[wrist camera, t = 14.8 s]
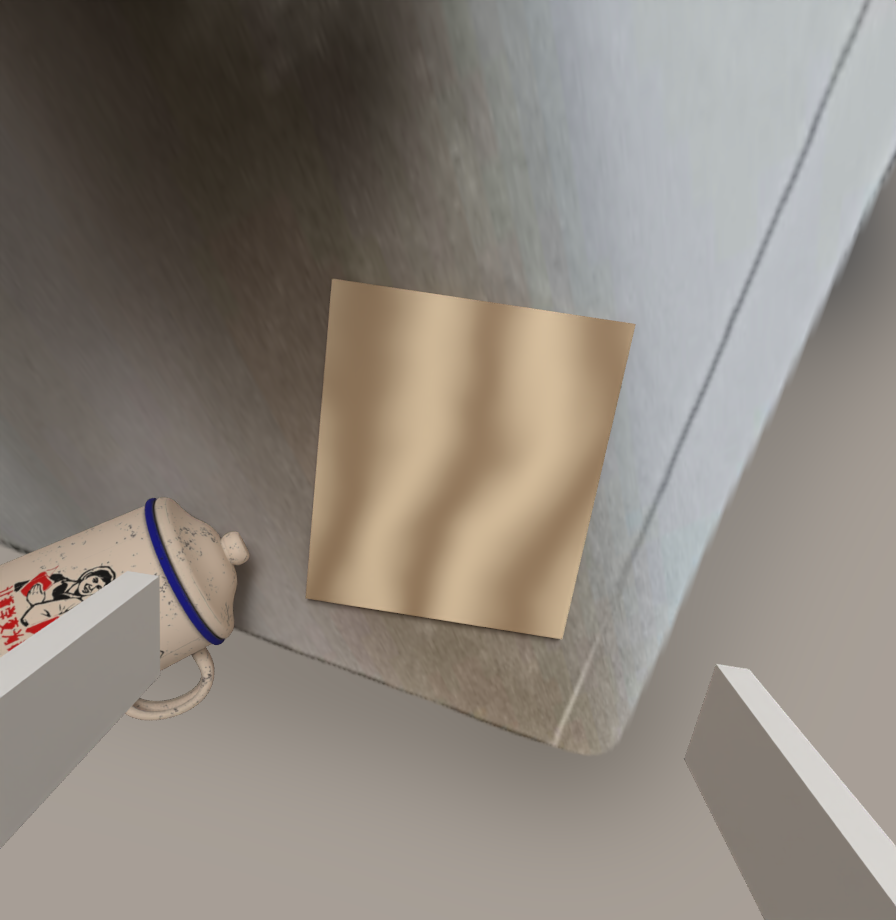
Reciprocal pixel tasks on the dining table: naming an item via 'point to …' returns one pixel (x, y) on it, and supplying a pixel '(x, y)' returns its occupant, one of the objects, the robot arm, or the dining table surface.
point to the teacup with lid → (143, 551)
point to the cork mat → (459, 455)
